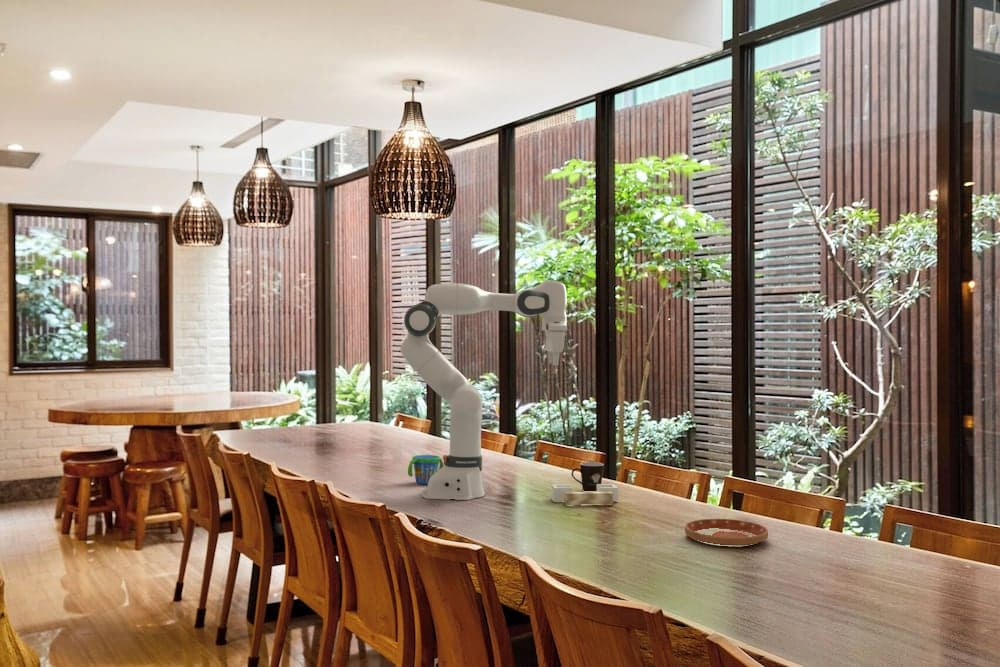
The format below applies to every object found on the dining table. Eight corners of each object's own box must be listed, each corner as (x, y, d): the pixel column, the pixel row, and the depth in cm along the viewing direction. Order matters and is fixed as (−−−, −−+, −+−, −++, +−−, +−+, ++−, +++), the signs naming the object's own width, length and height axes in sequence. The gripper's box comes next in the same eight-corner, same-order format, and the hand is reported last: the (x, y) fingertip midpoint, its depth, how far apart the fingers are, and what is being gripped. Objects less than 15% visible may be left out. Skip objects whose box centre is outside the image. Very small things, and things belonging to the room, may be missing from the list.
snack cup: (436, 479, 332) (436, 453, 332) (450, 483, 324) (451, 456, 323) (401, 483, 323) (401, 456, 323) (415, 487, 314) (415, 460, 314)
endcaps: (554, 502, 290) (554, 488, 290) (551, 498, 297) (551, 484, 296) (618, 502, 291) (618, 487, 291) (613, 498, 298) (614, 484, 298)
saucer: (710, 552, 228) (710, 539, 228) (670, 532, 250) (670, 520, 250) (784, 547, 234) (784, 534, 234) (739, 528, 256) (740, 516, 256)
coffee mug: (603, 489, 314) (603, 462, 314) (603, 494, 306) (604, 466, 306) (571, 488, 316) (571, 461, 316) (571, 493, 307) (571, 465, 307)
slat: (565, 507, 284) (565, 493, 284) (564, 505, 287) (564, 491, 287) (612, 506, 286) (612, 493, 286) (610, 504, 289) (610, 491, 289)
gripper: (541, 325, 313) (541, 363, 313) (549, 325, 292) (548, 365, 292) (558, 325, 313) (558, 363, 313) (567, 325, 293) (567, 365, 293)
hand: (553, 364), depth 303 cm, fingers open, 8 cm apart
